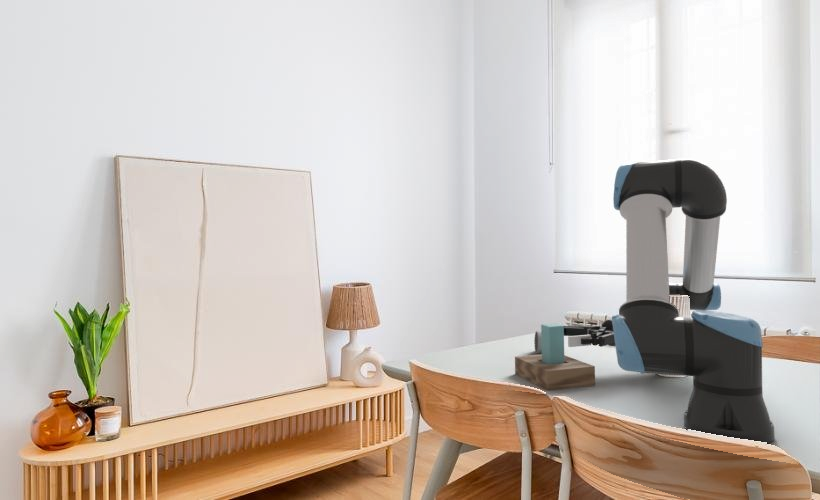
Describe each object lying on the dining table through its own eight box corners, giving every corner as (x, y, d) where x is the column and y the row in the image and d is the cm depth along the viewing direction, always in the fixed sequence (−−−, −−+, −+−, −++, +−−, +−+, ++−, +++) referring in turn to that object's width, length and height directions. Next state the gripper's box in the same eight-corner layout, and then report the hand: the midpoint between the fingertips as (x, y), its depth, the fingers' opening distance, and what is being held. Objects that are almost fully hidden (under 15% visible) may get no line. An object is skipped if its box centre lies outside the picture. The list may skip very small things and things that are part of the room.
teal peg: (564, 376, 142) (563, 325, 142) (550, 378, 141) (549, 326, 141) (556, 373, 146) (555, 323, 146) (542, 374, 145) (541, 324, 145)
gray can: (562, 355, 173) (562, 332, 173) (538, 355, 173) (537, 332, 174) (555, 349, 184) (555, 327, 184) (532, 349, 184) (531, 328, 184)
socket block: (595, 385, 137) (594, 366, 137) (547, 390, 133) (547, 371, 133) (558, 369, 154) (557, 352, 154) (515, 373, 150) (514, 356, 150)
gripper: (651, 353, 138) (581, 360, 132) (593, 337, 162) (532, 342, 156) (651, 325, 138) (581, 330, 132) (593, 313, 162) (532, 317, 156)
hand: (554, 337), depth 144 cm, fingers open, 13 cm apart
